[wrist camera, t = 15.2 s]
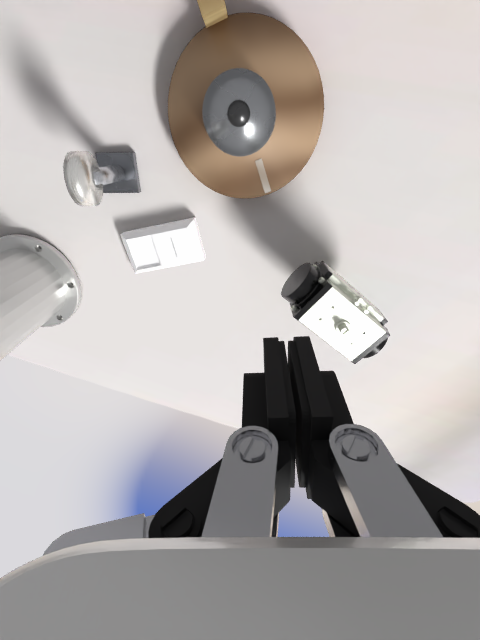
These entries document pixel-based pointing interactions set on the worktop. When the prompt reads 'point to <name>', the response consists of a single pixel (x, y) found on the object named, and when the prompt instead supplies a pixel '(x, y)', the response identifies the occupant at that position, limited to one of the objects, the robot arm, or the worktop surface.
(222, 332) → the worktop surface
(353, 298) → the pneumatic valve
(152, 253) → the white switch plate
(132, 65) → the worktop surface
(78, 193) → the gauge post
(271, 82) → the turntable
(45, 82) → the worktop surface
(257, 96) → the cover
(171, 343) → the worktop surface
